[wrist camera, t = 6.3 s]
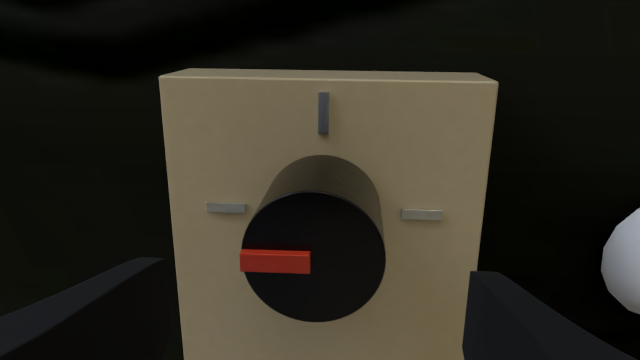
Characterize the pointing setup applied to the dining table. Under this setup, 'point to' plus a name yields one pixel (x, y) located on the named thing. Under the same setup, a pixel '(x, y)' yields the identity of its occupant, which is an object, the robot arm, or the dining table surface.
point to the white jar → (624, 262)
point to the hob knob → (316, 241)
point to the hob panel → (356, 147)
